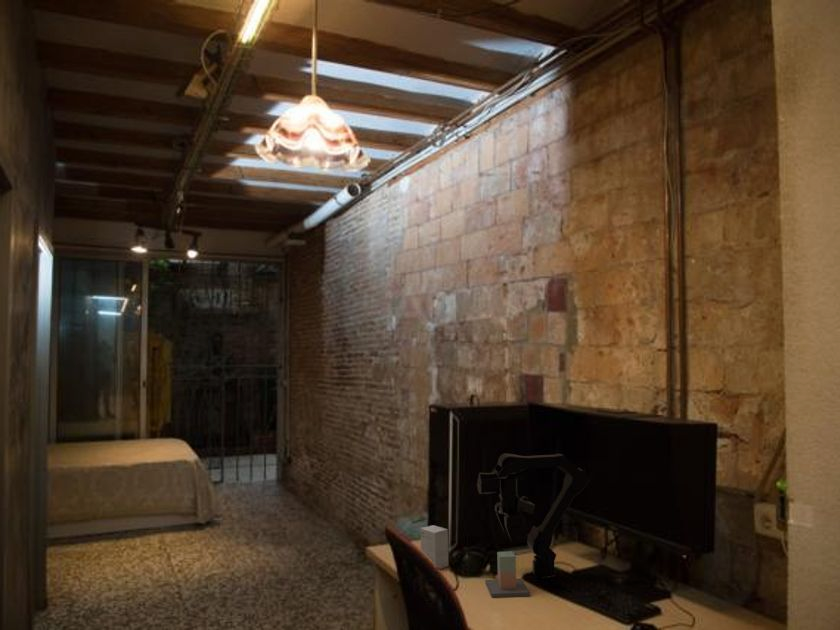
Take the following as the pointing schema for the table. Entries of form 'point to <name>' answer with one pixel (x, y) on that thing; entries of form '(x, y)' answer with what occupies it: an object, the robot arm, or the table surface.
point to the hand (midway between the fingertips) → (510, 539)
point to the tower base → (497, 592)
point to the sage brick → (506, 562)
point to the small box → (435, 544)
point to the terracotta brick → (507, 580)
